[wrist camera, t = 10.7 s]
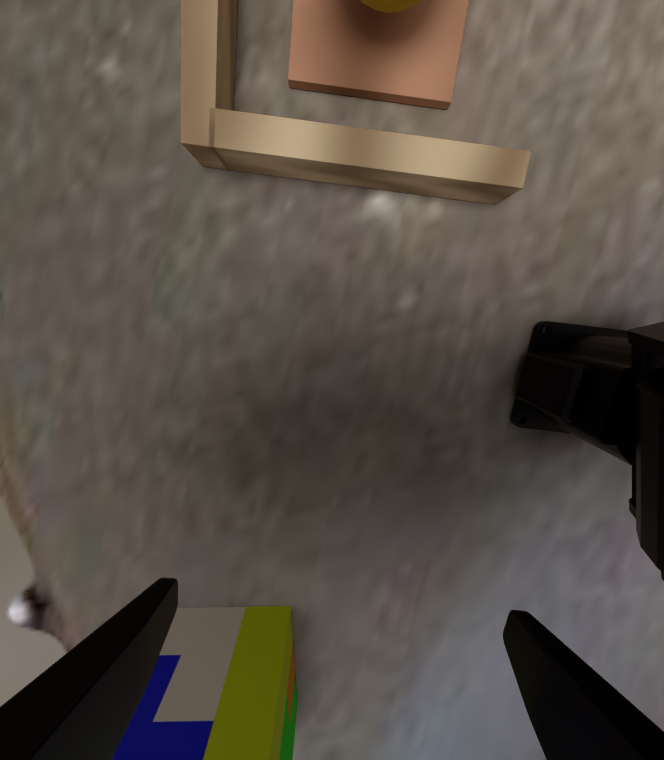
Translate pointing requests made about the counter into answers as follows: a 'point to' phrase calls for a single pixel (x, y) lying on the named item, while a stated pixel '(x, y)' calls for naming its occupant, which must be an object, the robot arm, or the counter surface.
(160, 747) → the puzzle toy
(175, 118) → the counter surface
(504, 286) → the counter surface
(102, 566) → the counter surface
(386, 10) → the lemon
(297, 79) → the wooden corner frame
